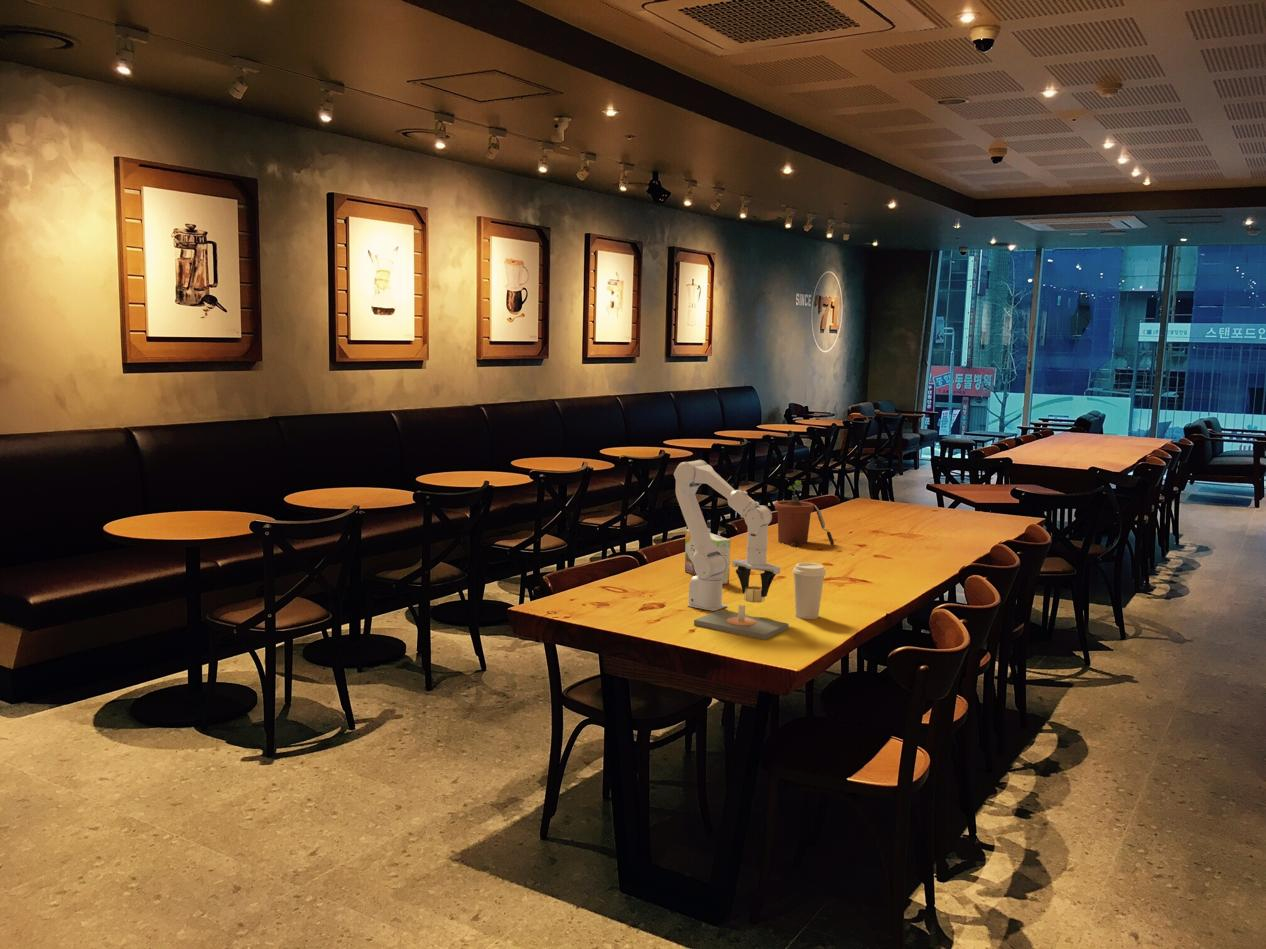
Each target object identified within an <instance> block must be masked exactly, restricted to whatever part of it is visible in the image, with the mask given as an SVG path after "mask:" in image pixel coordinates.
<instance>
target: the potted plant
mask: <svg viewBox="0 0 1266 949" xmlns="http://www.w3.org/2000/svg"><path fill="white" fill-rule="evenodd" d="M794 485H795V486H794V488H793V486H792V485H790V486H789V487H788V488H787V490H790V491H793V499H790V500H778V501H775V502H774V510H776V511H777V542H778V541H779V542H781V543H780V544H782V543H785V544H784V545H787V544H790V545H789V547H790V546H801V547H802V546H804V545H803V544H805V545H807V544H808V541H809V540H808V539H809V531H810V521H811V514H812V513H814V511H815V512H816V514H817V518H818V521H819V523H820V526H821V529H822V530H823V531H826V536H827V538H828V542H829V544H830V545H834V544H835V541H834V539H833V536H832V533H831V532H830V531H829V529H826V523H825V520H824V518H823V514H822V512H821V511H820V509H819V508H818V507H817V505H815V504H814V503H812V502H808V501H802V500H801V501H800V500H798V499H796V488H797V487H799V486H801V485H802V481H801V480H795V481H794ZM814 509H815V510H814ZM779 542H778V543H779Z"/></svg>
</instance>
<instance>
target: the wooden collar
mask: <svg viewBox="0 0 1266 949" xmlns="http://www.w3.org/2000/svg"><path fill="white" fill-rule="evenodd" d="M761 590H762V585H761V586H759V585H749V586H746V587H745V591H744V593H743V595H744V597H743V600H744V601H746V602H749V603H753V604H754V603H756V604H760V603H761V604H762V603H763V602H765V601H766V597H762V596H761Z"/></svg>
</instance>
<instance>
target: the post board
mask: <svg viewBox="0 0 1266 949" xmlns="http://www.w3.org/2000/svg"><path fill="white" fill-rule="evenodd" d="M693 625H694V626H696V627H701V628H706V629H711V630H716V631H720V632H725V633H730V634H735V635H739V636H744V637H749V638H754V639H759V640H763V641H765V640H767V639H769V638H772V637H773V636H776V635H779V634H780V633H783V632H785V631H787V630H789V623H786V622H783V621H778V620H772V619H768V618H761V617H756V616H752V615H747V614H746V605H743V604H739V605H738V613H736V612H731V611H728V610H721V609H719V610H716V611H712V612H711V613H709V614H705V615H703V616H701V617H698V618H695V619H694V620H693Z"/></svg>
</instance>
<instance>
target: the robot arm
mask: <svg viewBox="0 0 1266 949" xmlns="http://www.w3.org/2000/svg"><path fill="white" fill-rule="evenodd" d="M673 476H674V479H675V496H676V499H677V502H678V505H679V507H680V510H681V514H682V516H683V519H684V521H685V524H686V526H687V529H688V530H689V532H690V535H691V538H692V541H693V543H694V546H695V549H696V550H695V553H694V555H693V559H694V569H695V572H696V574H697V575H695V576H694V575H692V577H691V578H690V582H689V586H688V587H689V590H688V603H687V607H692V608H696V609H702V610H707V611H711V612H716V611H718V610H721V609H723V608H726V607H728V604H725V603H722V602H723V601H722V600H723V584H722V582H723V573H724V572H725V571H726V569H727V565H728V564H727V560H726V558H725V557H724V556H723V555H722V553H721V551H720V549H719V548H718V547H717V546H716V545H715V544H713V542H712V539H711V536H710V534H709V533H710V532H709V529H708V526H707V523H706V520H705V518H704V515H703V511H702V510H701V508H700V504H699V501H698V499H697V496H696V493H697V491H698V489H699V487H700V486H701V485H702V484H706V485H708V486H709V487H711V488H712V489H713V490H714V491H716V492H717V493H719V494H720V495H722V496H723V497H724V498H725V499H727V504H728V507H730V508H731V509H732V510H734V511H735V512H736V513H738V514H739V515H740V516H741V517H742V518H743V519H744V522H745V525H746V526H747V527H746V528H747V541H746V542H747V543H746V559H737V558H736V559H733V560H732V562H731V563H732V567H733V568H737V569H736V570H735V573H736V575H737V578H738V580H739V583H740V587H741V591H742V594H744V591H745V587H746V586H750V575H751V571H752V570H754V571H760V572H761V573H760V580H761V581H760V582H761V587H762V590H761V596H762V597H765V598H766V597H768V593H769V590H770V586H771V584H772V582H773V580H774V579H775V577H776V575H779V574H781V566H780V565H778V566H777V565H776V564H775V565H774V564H772V563H768V562H767V559H768V558H767V554H768V538H769V537H768V536H769V535H768V534H769V524H770V523H771V522H772V521H773V520H772V519H773V513H772V511H771V509H770V508H768V506H767V505H763V504H762V505H760V502H758V501H755V500H754V499H752V497H750V496H749V495H748V492H747V491H746V490H742V489H735V488H733V487H732V486H731V485H730V484H729V483H728V482H727V481H726V480H725V479H724V478H722V477H721V475H720V474H719V473H717V472H716V471H715V470H714V468H713V467H712V466H711V465H710V464H708V463H707V462H706V461H705V460H702V459H697V460H696V459H695V460H692V461H683V462H680V463H679V464H678V465H677V466H676V468H675V470H674V472H673Z"/></svg>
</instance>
